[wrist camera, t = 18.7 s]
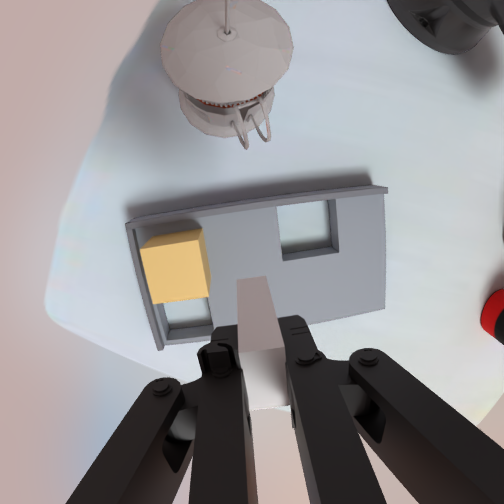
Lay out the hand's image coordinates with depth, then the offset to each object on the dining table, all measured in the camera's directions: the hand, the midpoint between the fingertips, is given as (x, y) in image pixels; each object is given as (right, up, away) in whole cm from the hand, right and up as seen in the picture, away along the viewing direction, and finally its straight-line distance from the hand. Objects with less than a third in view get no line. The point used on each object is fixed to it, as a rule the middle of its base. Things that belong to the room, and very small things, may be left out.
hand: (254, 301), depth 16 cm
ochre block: (-7, +2, +14) cm, 16 cm away
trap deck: (+1, +1, +18) cm, 18 cm away
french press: (-2, +18, +13) cm, 22 cm away
